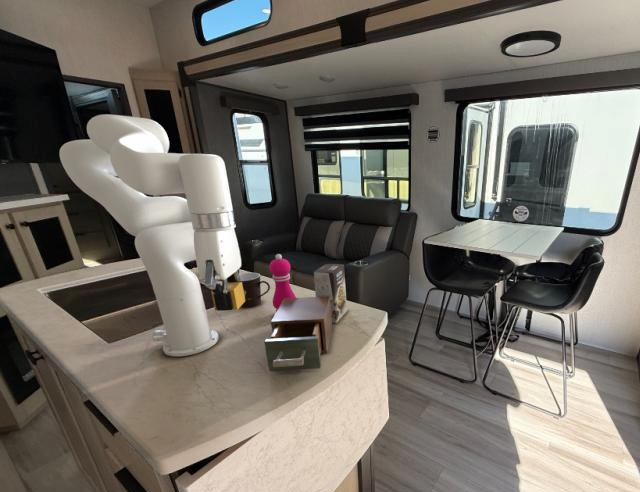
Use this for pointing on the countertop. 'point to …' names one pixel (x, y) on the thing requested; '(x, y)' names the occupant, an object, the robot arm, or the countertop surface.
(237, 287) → the block
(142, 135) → the robot arm
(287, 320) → the cabinet
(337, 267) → the coffee box
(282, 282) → the pepper mill
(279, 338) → the drawer
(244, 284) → the coffee mug
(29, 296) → the countertop surface
